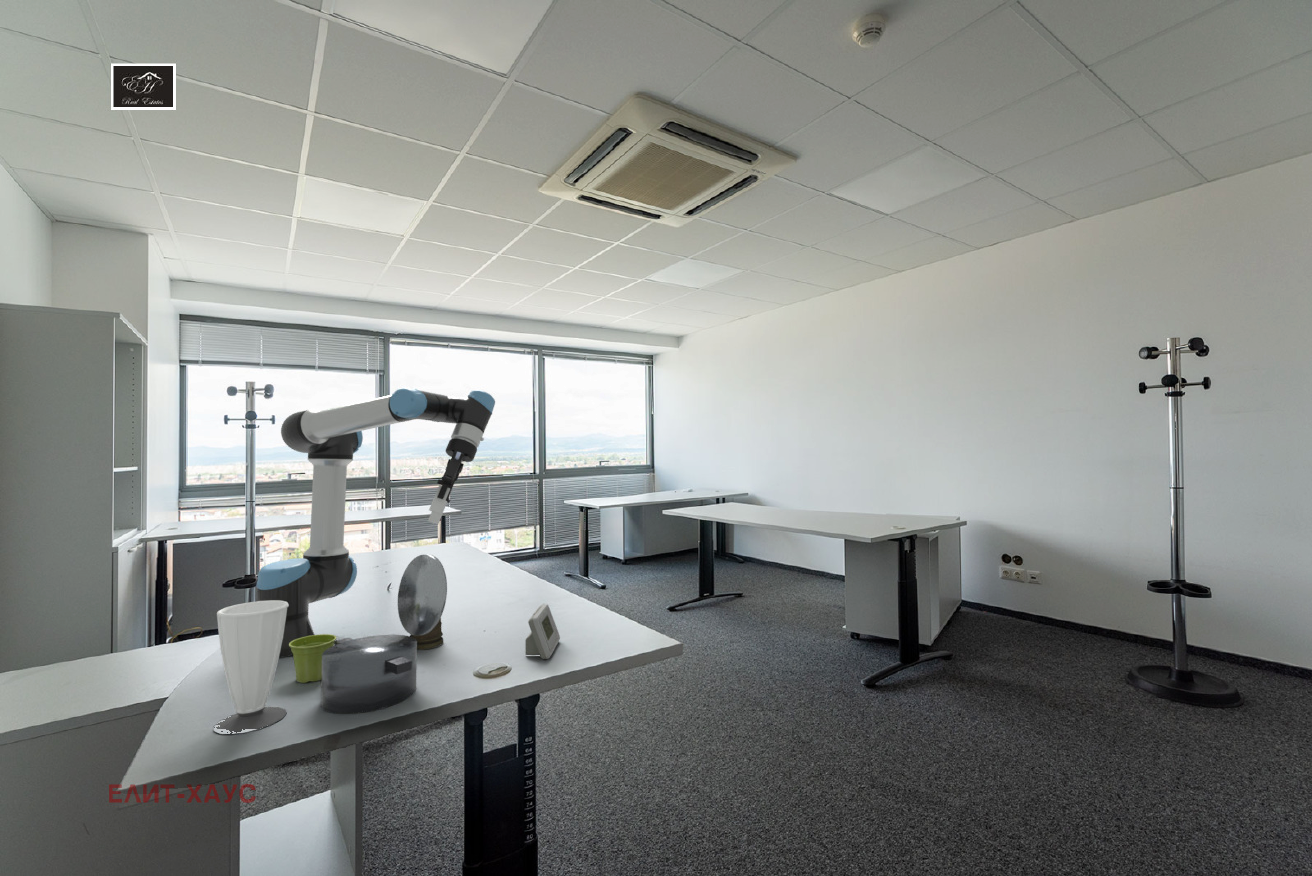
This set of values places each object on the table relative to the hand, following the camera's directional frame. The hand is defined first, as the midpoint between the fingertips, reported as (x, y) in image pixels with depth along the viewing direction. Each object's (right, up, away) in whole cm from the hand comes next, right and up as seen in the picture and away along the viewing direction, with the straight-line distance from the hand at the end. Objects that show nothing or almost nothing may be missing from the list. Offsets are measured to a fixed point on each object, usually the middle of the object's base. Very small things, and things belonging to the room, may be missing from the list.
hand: (433, 517), depth 139 cm
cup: (-22, -35, -33) cm, 53 cm away
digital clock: (+27, -36, +6) cm, 46 cm away
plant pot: (-23, -36, -12) cm, 44 cm away
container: (-7, -37, +12) cm, 39 cm away
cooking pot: (-5, -35, -22) cm, 41 cm away
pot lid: (+2, -16, -12) cm, 20 cm away
